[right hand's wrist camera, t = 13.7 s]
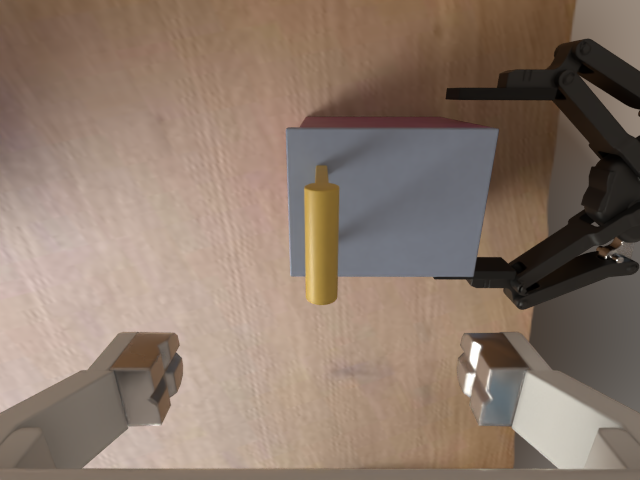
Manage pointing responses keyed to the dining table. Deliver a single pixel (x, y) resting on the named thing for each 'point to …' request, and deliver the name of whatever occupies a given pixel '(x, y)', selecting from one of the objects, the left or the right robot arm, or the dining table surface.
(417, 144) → the lid
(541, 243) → the left robot arm
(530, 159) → the dining table surface
